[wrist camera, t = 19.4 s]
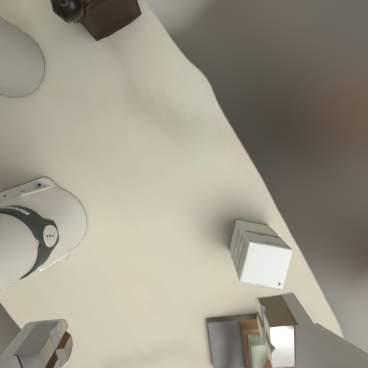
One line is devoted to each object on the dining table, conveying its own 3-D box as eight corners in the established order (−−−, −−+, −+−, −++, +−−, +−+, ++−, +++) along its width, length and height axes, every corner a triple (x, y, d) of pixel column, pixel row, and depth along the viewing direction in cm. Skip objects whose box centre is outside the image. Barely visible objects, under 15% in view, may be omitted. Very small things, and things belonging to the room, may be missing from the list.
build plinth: (213, 364, 56) (216, 397, 48) (207, 318, 54) (209, 345, 47) (300, 356, 55) (316, 389, 47) (296, 309, 53) (313, 336, 46)
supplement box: (269, 224, 50) (295, 250, 38) (261, 257, 51) (283, 292, 39) (235, 217, 50) (249, 241, 38) (227, 250, 52) (239, 283, 39)
